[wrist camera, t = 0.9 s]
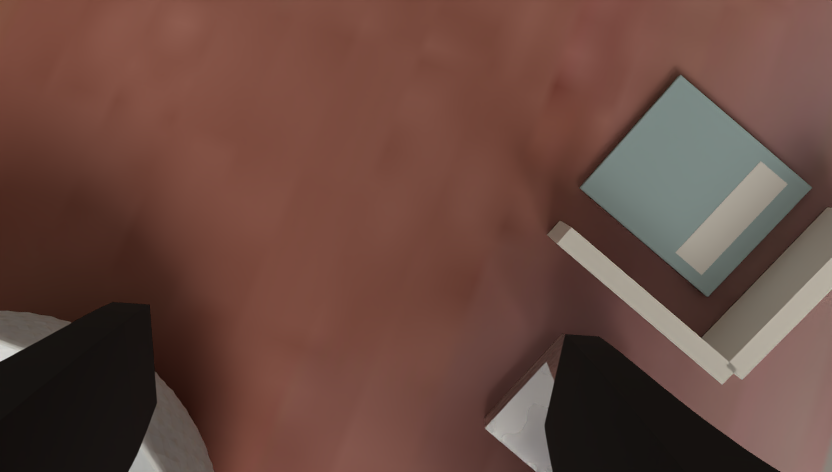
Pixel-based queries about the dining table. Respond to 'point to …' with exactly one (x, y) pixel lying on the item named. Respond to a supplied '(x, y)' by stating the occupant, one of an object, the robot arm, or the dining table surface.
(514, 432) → the bracket
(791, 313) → the cream l-shaped piece
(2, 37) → the dining table surface
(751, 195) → the mat
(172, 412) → the cereal bowl
